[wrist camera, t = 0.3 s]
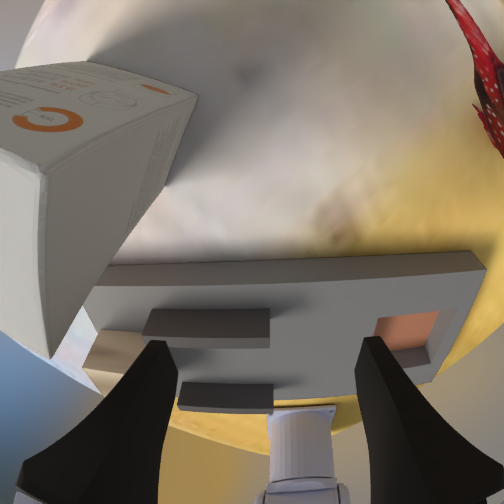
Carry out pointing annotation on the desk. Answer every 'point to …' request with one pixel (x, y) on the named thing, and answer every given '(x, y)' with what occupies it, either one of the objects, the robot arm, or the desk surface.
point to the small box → (75, 183)
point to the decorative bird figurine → (484, 76)
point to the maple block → (112, 357)
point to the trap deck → (288, 321)
